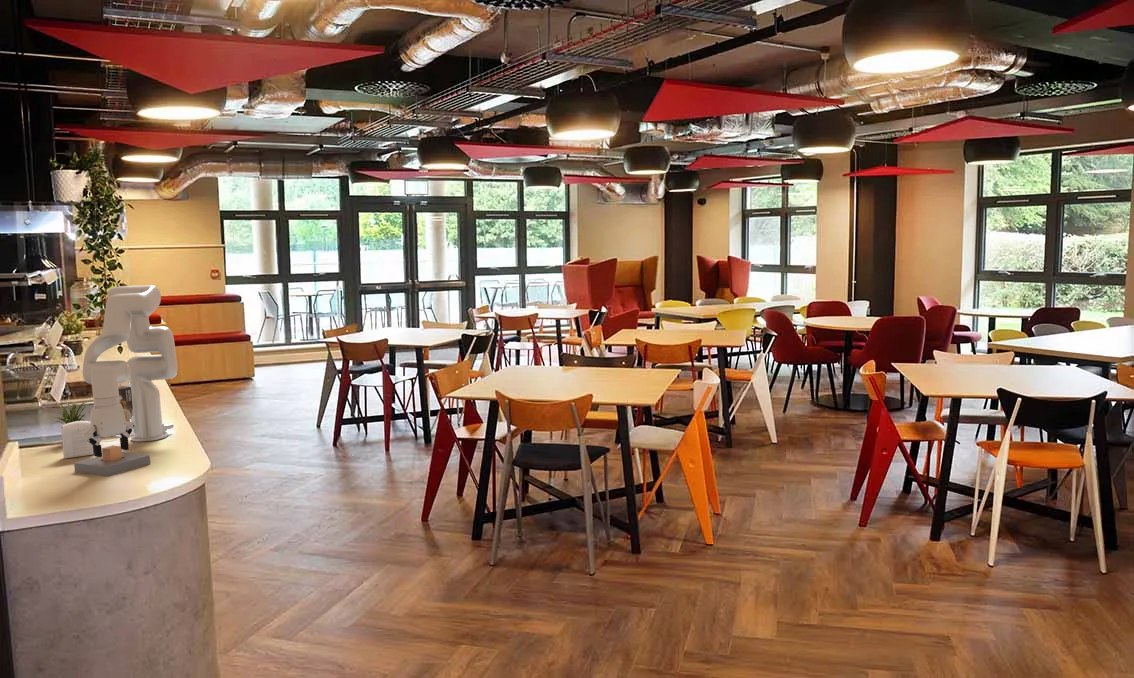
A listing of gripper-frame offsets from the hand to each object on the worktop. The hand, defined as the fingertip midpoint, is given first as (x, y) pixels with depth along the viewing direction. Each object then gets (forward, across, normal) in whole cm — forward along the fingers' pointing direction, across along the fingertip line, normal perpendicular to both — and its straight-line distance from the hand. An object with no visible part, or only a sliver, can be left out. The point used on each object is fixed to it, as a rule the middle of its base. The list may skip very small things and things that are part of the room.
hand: (111, 453), depth 293 cm
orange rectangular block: (+5, 0, 0) cm, 5 cm away
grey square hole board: (+5, 0, 0) cm, 5 cm away
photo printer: (+5, -7, -27) cm, 28 cm away
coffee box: (+6, -45, -57) cm, 73 cm away
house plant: (+5, -21, -49) cm, 53 cm away
